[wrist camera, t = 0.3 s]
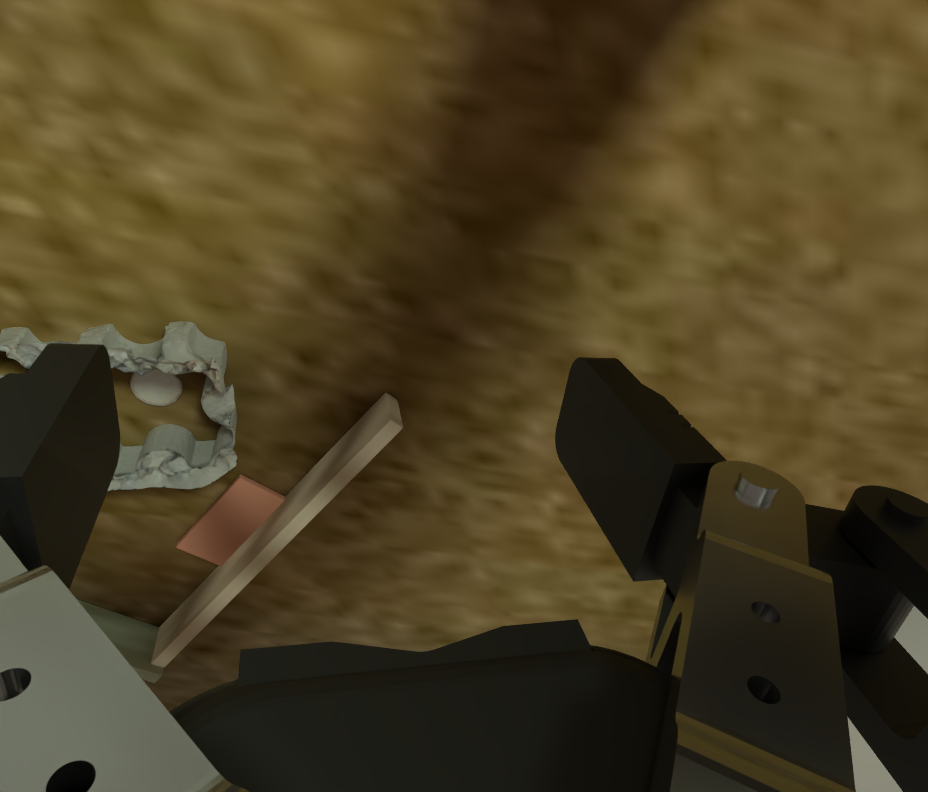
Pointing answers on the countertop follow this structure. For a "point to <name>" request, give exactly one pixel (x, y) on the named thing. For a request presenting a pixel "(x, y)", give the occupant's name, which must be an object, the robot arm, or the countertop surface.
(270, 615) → the countertop surface
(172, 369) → the egg carton
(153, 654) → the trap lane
